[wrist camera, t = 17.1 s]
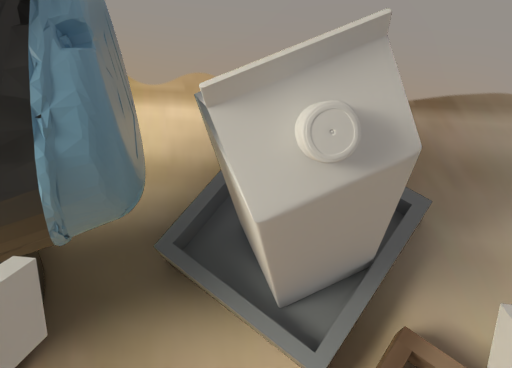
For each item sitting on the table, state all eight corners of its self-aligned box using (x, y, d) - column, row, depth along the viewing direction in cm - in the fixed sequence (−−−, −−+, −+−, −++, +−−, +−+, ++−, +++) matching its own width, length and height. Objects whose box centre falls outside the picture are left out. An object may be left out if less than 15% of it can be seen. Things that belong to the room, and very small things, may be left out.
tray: (165, 259, 32) (153, 246, 30) (273, 134, 37) (270, 113, 34) (318, 381, 27) (319, 378, 24) (422, 218, 32) (432, 201, 29)
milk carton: (240, 223, 32) (167, 20, 15) (323, 186, 33) (340, -46, 16) (279, 310, 28) (240, 170, 12) (371, 266, 29) (456, 78, 13)
